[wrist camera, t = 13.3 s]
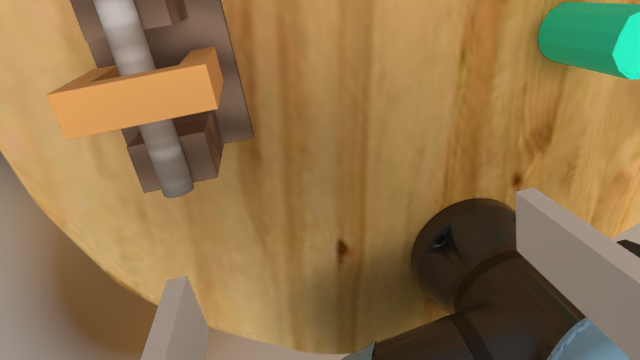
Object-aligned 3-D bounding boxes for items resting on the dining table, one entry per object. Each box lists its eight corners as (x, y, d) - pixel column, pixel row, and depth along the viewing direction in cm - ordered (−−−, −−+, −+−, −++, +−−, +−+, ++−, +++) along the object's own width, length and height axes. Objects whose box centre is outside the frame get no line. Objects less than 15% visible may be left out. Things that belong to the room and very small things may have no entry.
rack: (253, 133, 44) (253, 181, 33) (137, 156, 43) (98, 213, 32) (211, -38, 37) (194, -50, 26) (73, -14, 36) (-5, -15, 25)
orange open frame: (223, 80, 38) (217, 109, 28) (108, 103, 37) (65, 140, 28) (214, 46, 36) (205, 63, 27) (95, 68, 35) (45, 95, 26)
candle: (591, -7, 43) (705, -6, 32) (591, 51, 46) (697, 71, 35) (536, 11, 43) (631, 18, 32) (539, 68, 46) (628, 93, 35)
